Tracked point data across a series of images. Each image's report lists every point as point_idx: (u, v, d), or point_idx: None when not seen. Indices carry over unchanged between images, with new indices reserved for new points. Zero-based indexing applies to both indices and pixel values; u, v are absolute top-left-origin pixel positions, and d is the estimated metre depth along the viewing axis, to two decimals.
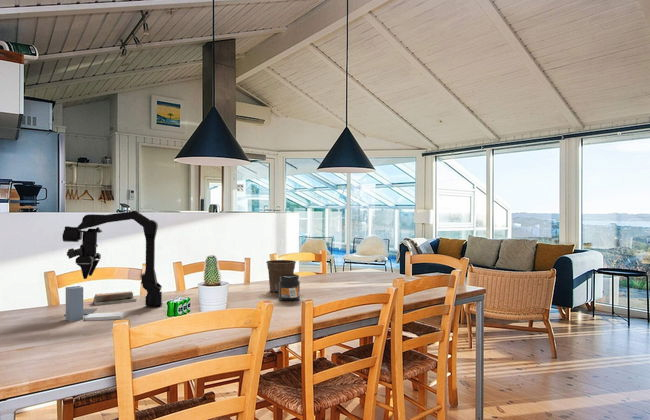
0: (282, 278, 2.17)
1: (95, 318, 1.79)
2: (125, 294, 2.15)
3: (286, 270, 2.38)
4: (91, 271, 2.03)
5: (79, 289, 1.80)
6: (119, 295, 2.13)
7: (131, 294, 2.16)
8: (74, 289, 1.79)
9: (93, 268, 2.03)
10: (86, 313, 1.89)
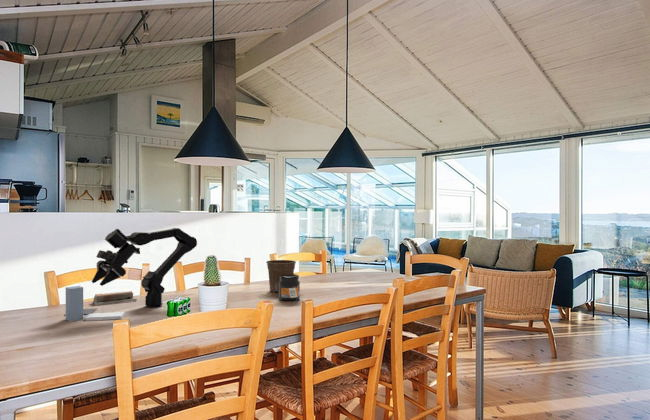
0: (282, 278, 2.17)
1: (95, 318, 1.79)
2: (125, 294, 2.15)
3: (286, 270, 2.38)
4: (96, 279, 1.92)
5: (79, 289, 1.80)
6: (119, 295, 2.13)
7: (131, 294, 2.17)
8: (74, 289, 1.79)
9: (100, 277, 1.93)
10: (86, 313, 1.89)
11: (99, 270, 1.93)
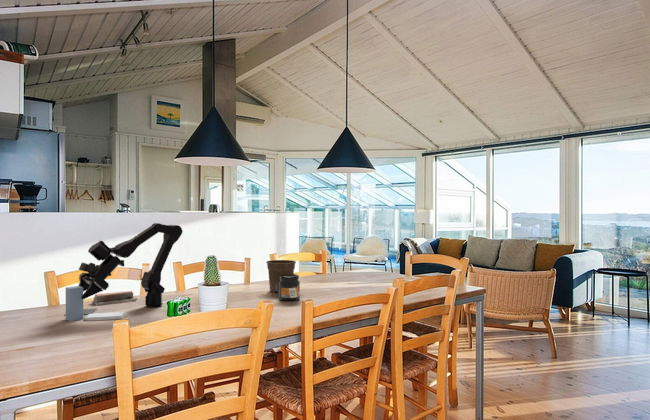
0: (282, 278, 2.17)
1: (95, 318, 1.79)
2: (125, 294, 2.16)
3: (286, 270, 2.38)
4: None
5: (79, 289, 1.80)
6: (119, 295, 2.14)
7: (131, 294, 2.17)
8: (74, 289, 1.79)
9: None
10: (86, 313, 1.89)
11: (81, 283, 1.87)
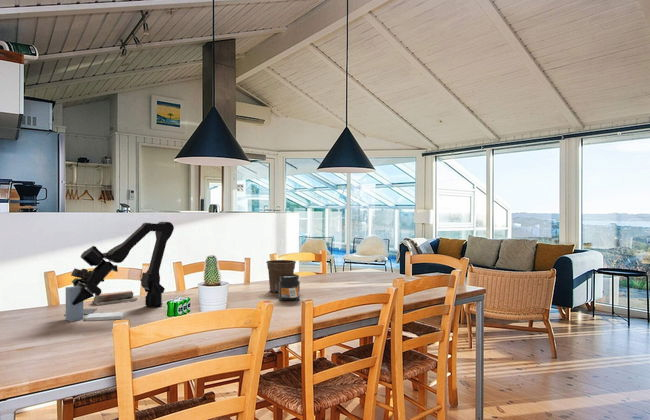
0: (282, 278, 2.17)
1: (95, 318, 1.79)
2: (126, 294, 2.16)
3: (286, 270, 2.38)
4: None
5: (79, 289, 1.80)
6: (120, 295, 2.14)
7: (131, 293, 2.18)
8: (74, 289, 1.79)
9: None
10: (86, 313, 1.89)
11: None
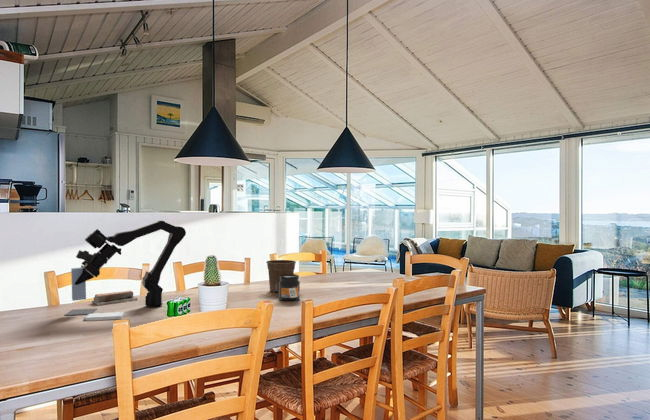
0: (282, 278, 2.17)
1: (95, 318, 1.79)
2: (126, 293, 2.16)
3: (286, 270, 2.38)
4: None
5: (81, 270, 1.88)
6: (120, 294, 2.15)
7: (131, 293, 2.18)
8: (76, 270, 1.87)
9: None
10: (86, 313, 1.89)
11: None
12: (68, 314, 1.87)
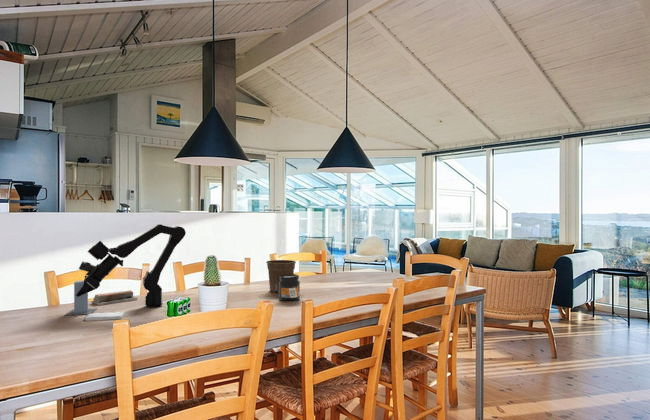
0: (282, 278, 2.17)
1: (95, 318, 1.79)
2: (126, 293, 2.17)
3: (286, 270, 2.38)
4: None
5: (83, 283, 1.91)
6: (120, 294, 2.15)
7: (131, 293, 2.19)
8: (78, 283, 1.90)
9: None
10: (86, 313, 1.89)
11: None
12: (68, 314, 1.87)
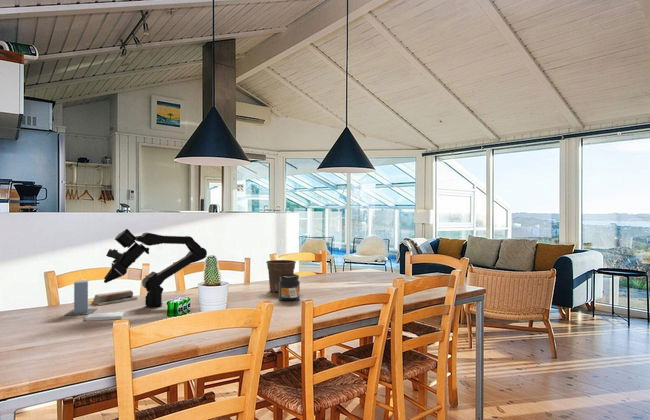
0: (282, 278, 2.17)
1: (95, 318, 1.79)
2: (126, 293, 2.17)
3: (286, 270, 2.38)
4: None
5: (83, 283, 1.91)
6: (121, 294, 2.15)
7: (131, 293, 2.20)
8: (78, 283, 1.90)
9: None
10: (86, 313, 1.89)
11: None
12: (68, 314, 1.87)
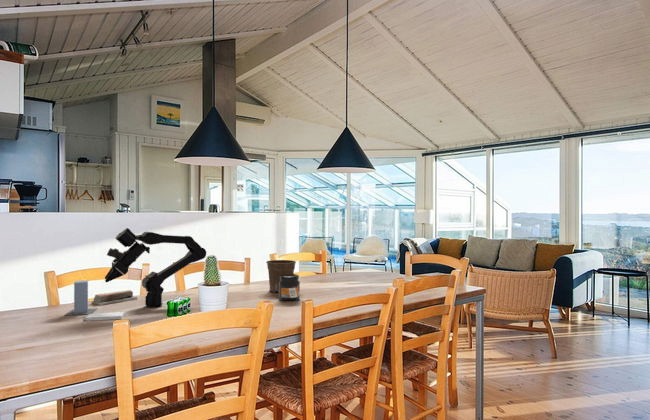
0: (282, 278, 2.17)
1: (95, 318, 1.79)
2: (126, 293, 2.18)
3: (286, 270, 2.38)
4: None
5: (83, 283, 1.91)
6: (121, 294, 2.16)
7: (131, 293, 2.20)
8: (78, 283, 1.90)
9: None
10: (86, 313, 1.89)
11: (112, 267, 2.01)
12: (68, 314, 1.87)
